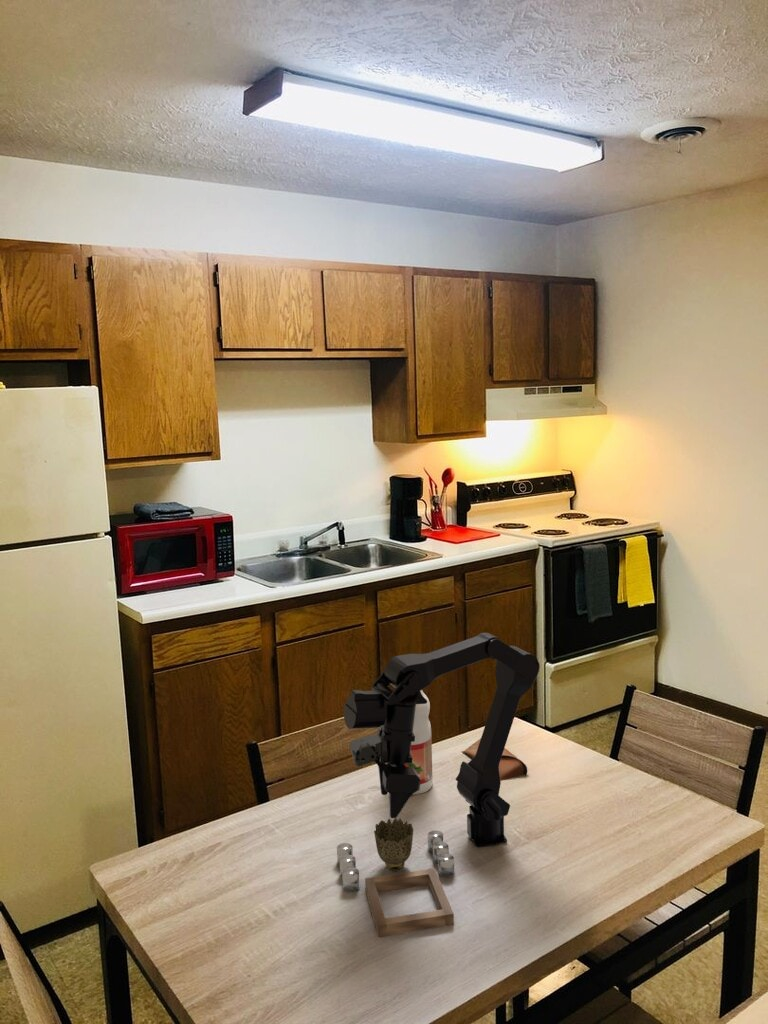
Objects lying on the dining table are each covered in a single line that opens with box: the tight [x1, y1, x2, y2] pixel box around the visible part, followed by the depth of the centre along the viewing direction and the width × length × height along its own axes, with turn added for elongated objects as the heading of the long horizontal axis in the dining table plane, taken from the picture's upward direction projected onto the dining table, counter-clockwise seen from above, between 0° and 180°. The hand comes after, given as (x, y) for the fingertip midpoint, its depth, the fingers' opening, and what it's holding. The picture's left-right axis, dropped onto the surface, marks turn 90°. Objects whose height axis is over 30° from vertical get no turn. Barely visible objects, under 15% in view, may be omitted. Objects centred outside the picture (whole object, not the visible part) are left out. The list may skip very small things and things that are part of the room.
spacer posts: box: [336, 830, 455, 893], centre depth 147 cm, size 21×11×3 cm, turn 101°
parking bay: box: [364, 867, 455, 937], centre depth 136 cm, size 13×13×2 cm
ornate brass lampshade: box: [373, 818, 414, 872], centre depth 146 cm, size 8×7×8 cm
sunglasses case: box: [461, 738, 528, 782], centre depth 187 cm, size 18×7×7 cm, turn 24°
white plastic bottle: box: [405, 690, 434, 796], centre depth 175 cm, size 9×9×28 cm
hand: (388, 805), depth 145 cm, fingers open, 9 cm apart
